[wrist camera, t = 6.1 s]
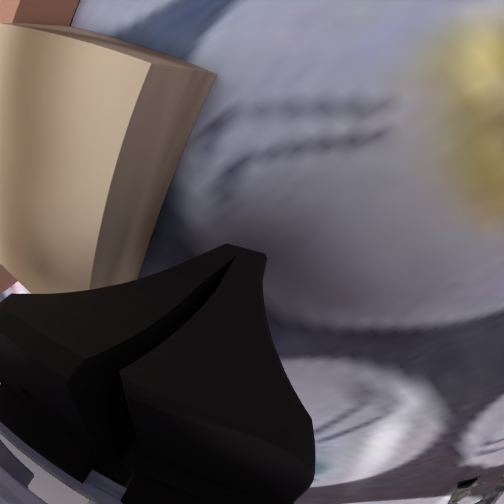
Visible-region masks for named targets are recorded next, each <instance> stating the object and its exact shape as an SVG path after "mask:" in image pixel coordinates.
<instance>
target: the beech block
mask: <svg viewBox="0 0 504 504" xmlns="http://www.w3.org/2000/svg"><path fill="white" fill-rule="evenodd" d="M216 76H217V74H216V73H213V72H211V71H208V70H206V69H204V68H201V67H199V66H196V65H194V64H191V63H189V62H186V61H183V60H181V59H178V58H175V57H173V56H170V55H167V54H164V53H161V52H159V51H156V50H153V49H150V48H147V47H144V46H141V45H137V44H134V43H131V42H128V41H124V40H121V39H118V38H114V37H111V36H107V35H103V34H100V33H96V32H92V31H88V30H84V29H79V28H75V27H69V26H59V25H46V24H27V23H0V264H1V265H2V266H3V267H4V268H5V269H6V270H7V271H8V272H9V273H10V274H11V275H12V276H13V277H14V278H16V279H17V280H18V281H19V282H20V283H21V284H22V285H23V286H24V287H25V288H26V289H27V290H28V291H30V292H31V293H32V294H52V293H65V292H76V291H84V290H91V289H97V288H102V287H107V286H112V285H117V284H122V283H126V282H130V281H133V280H137V279H138V276H139V273H140V270H141V267H142V263H143V260H144V257H145V254H146V251H147V248H148V245H149V242H150V239H151V236H152V233H153V230H154V227H155V224H156V221H157V218H158V215H159V212H160V210H161V207H162V204H163V201H164V199H165V196H166V193H167V191H168V188H169V185H170V183H171V180H172V177H173V175H174V172H175V170H176V167H177V165H178V162H179V160H180V157H181V155H182V152H183V150H184V147H185V145H186V142H187V140H188V138H189V135H190V133H191V131H192V128H193V126H194V124H195V121H196V119H197V117H198V115H199V112H200V110H201V108H202V106H203V103H204V101H205V99H206V97H207V95H208V93H209V90H210V88H211V86H212V84H213V82H214V80H215V78H216Z"/></svg>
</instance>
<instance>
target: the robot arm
mask: <svg viewBox="0 0 504 504" xmlns="http://www.w3.org/2000/svg"><path fill="white" fill-rule="evenodd" d="M266 261H267V257H266V255H265V254H264V253H260V252H257V251H253V250H249V249H245V248H242V247H238V246H234V245H231V244H224V245H222V246H219V247H217V248H215V249H213V250H211V251H209V252H206V253H204V254H202V255H200V256H198V257H195V258H193V259H191V260H189V261H187V262H184V263H182V264H179V265H177V266H174V267H172V268H169V269H167V270H164V271H161V272H159V273H156V274H153V275H150V276H147V277H144V278H140V279H137V280H133V281H130V282H126V283H122V284H117V285H112V286H107V287H102V288H97V289H91V290H84V291H76V292H65V293H52V294H10V295H9V296H8V297H6V298H5V299H4V300H3V301H1V302H0V383H1V384H0V434H2V435H3V436H4V437H5V438H6V439H7V440H8V441H9V442H10V443H12V444H13V445H14V446H15V447H16V448H17V449H19V450H20V451H21V452H22V453H24V454H25V455H26V456H27V457H28V458H30V459H31V460H32V461H33V462H35V463H36V464H38V465H39V466H40V467H41V468H43V469H44V470H46V471H47V472H48V473H49V474H51V475H52V476H54V477H55V478H57V479H58V480H59V481H61V482H62V483H64V484H65V485H67V486H68V487H70V488H72V489H73V490H74V491H76V492H78V493H79V494H81V495H82V496H84V497H86V498H87V499H89V500H91V501H92V502H94V503H96V504H293V503H294V502H295V501H296V500H297V499H298V498H299V497H300V496H301V495H302V494H303V493H304V492H305V491H306V490H307V489H308V488H309V487H310V485H311V484H312V482H313V479H314V474H315V440H314V432H313V424H312V419H311V417H310V415H309V414H308V412H307V411H306V409H305V408H304V406H303V404H302V403H301V401H300V399H299V398H298V396H297V394H296V392H295V391H294V389H293V387H292V385H291V383H290V381H289V379H288V377H287V375H286V373H285V371H284V368H283V366H282V363H281V361H280V359H279V356H278V354H277V351H276V349H275V346H274V343H273V340H272V337H271V333H270V330H269V326H268V322H267V317H266V312H265V306H264V299H263V286H262V280H263V275H264V270H265V266H266ZM33 478H34V474H33V473H32V472H31V471H30V470H29V469H28V468H27V467H26V466H25V465H24V464H22V463H21V462H20V461H19V460H18V459H17V458H16V457H15V456H14V455H13V454H12V452H10V450H9V449H8V448H7V447H6V446H5V445H4V443H3V442H2V441H1V440H0V504H47V503H46V502H45V501H43V500H42V499H41V498H39V497H38V496H37V495H35V494H34V493H33V492H31V491H30V490H29V489H28V485H29V483H30V482H31V480H32V479H33Z"/></svg>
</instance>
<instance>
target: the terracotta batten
mask: <svg viewBox="0 0 504 504" xmlns="http://www.w3.org/2000/svg"><path fill="white" fill-rule="evenodd" d="M78 3H79V0H0V23H27V24H46V25H59V26H70V23H71V20H72V18H73V15H74V13H75V10H76V8H77V5H78ZM17 281H18V280H17V279H16V278H14V277H13V276H12V275H11V274H10V273H9V272H8V271H7V270H6V269H5V268H4V267H3V266H2V265H1V264H0V294H1V293H3V292H4V291H5V290H7V289H8V288H9V287H11V286H12V285H13V284H15V283H16V282H17Z"/></svg>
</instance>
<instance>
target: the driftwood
mask: <svg viewBox="0 0 504 504" xmlns="http://www.w3.org/2000/svg"><path fill="white" fill-rule="evenodd" d="M503 476H504V475H503ZM479 478H480V477H479ZM479 478H478V479H479ZM475 481H476V480H475ZM475 481H474V482H472V483H470V484H467V485H463V486H460V487H458V488H457V490H456V492H455V493H454V494H453V496H452V498H451V500H450V501H449V503H448V504H457V503H454V502H458V501H460V500H461V499H463V498H464V497H466V496H467V495H469V494H470V493H471V492H470V489H471V488H473V487H475V486H477V485H479V484H477V483H475ZM484 483H486V482H484ZM464 489H466V490H464ZM459 490H460V492H458V491H459ZM461 490H463V491H461ZM503 493H504V481H503V482H502V483H501V484H500V485H498V486H497V488H495V489H494V490H493V491H491V492H490V493H488V494H486V495H484V497H483V499H482V500H480V501H479V502H477V503H475V504H495V503H496V501H497V500H498V498H499V497H500V496H501V495H502V494H503ZM461 495H462V496H461ZM450 502H452V503H450Z"/></svg>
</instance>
